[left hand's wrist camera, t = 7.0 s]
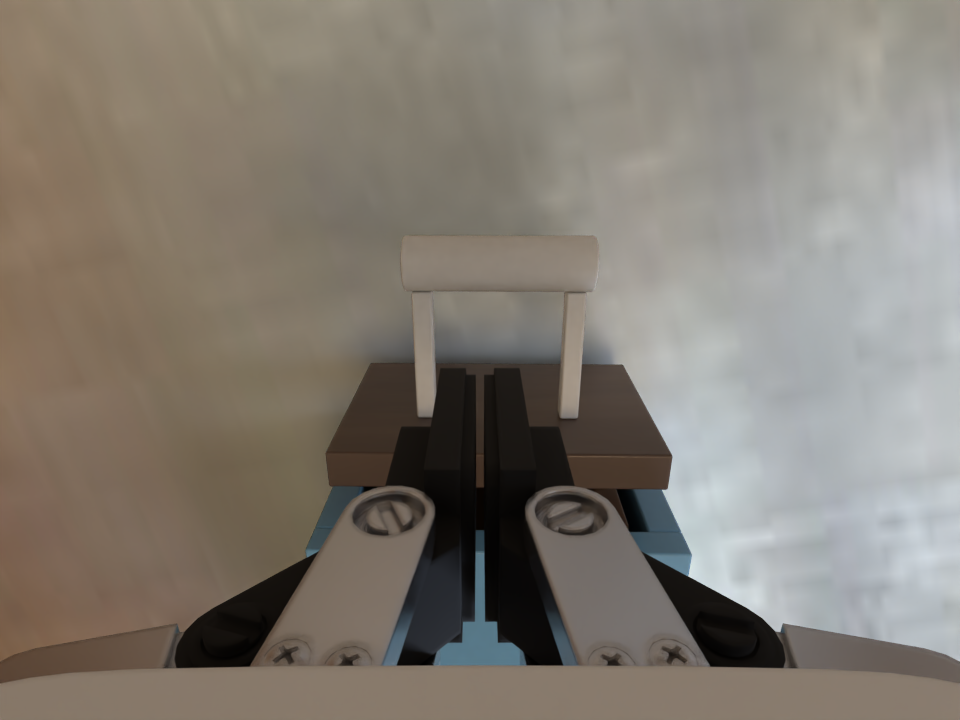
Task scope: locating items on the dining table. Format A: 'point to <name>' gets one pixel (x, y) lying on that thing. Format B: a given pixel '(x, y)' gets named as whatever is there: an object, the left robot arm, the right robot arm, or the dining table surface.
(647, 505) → the blue drawer cabinet
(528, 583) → the left robot arm
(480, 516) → the drawer
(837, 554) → the dining table surface
